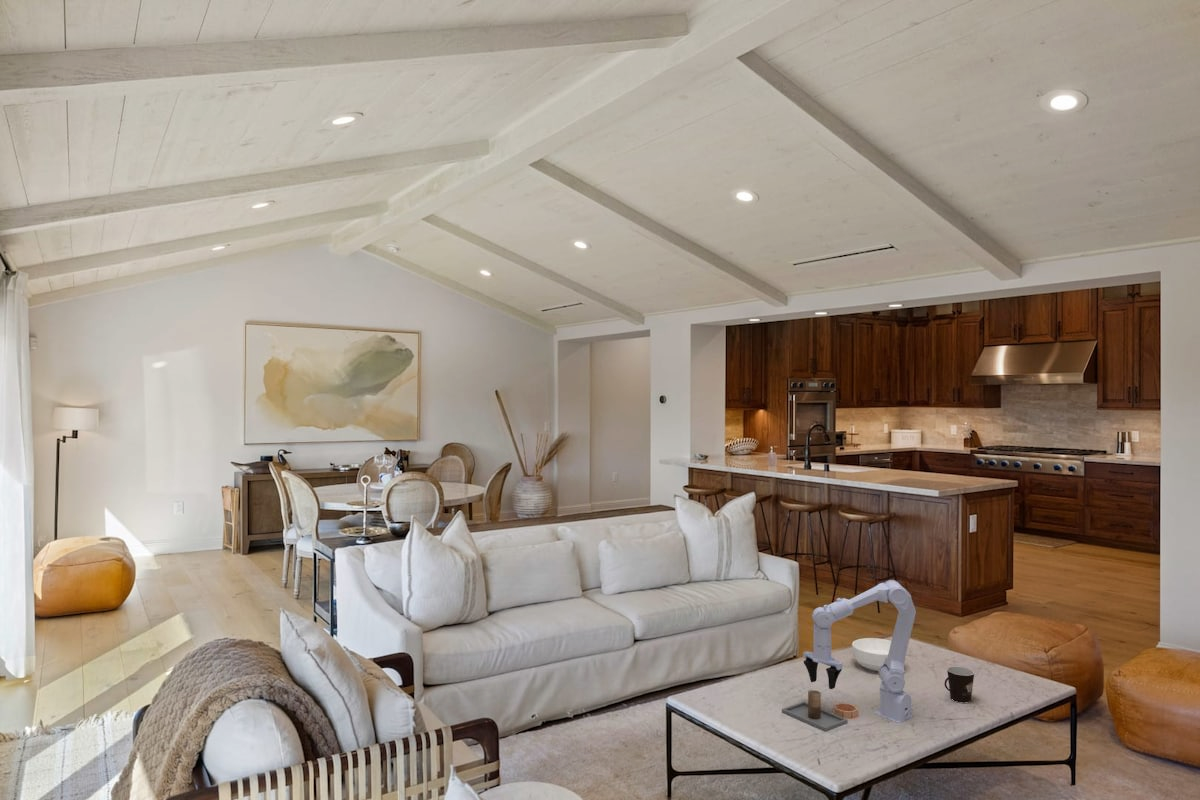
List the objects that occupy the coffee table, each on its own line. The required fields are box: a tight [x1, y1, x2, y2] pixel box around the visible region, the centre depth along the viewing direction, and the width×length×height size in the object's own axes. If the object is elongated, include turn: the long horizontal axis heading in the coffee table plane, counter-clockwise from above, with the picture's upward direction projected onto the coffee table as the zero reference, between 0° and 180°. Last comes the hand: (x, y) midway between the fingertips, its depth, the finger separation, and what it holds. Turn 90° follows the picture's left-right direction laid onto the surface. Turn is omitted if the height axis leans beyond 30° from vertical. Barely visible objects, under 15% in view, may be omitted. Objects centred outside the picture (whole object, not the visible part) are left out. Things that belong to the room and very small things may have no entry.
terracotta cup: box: [832, 702, 860, 720], centre depth 259 cm, size 8×8×2 cm
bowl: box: [851, 637, 907, 672], centre depth 303 cm, size 20×20×8 cm
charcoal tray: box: [781, 701, 849, 733], centre depth 256 cm, size 18×11×2 cm, turn 35°
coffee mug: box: [944, 666, 975, 703], centre depth 271 cm, size 12×9×10 cm
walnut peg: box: [807, 689, 822, 719], centre depth 256 cm, size 4×4×8 cm
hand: (822, 684), depth 261 cm, fingers open, 7 cm apart
